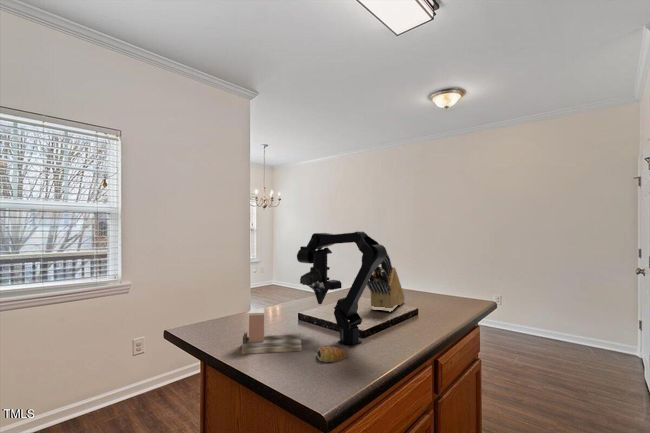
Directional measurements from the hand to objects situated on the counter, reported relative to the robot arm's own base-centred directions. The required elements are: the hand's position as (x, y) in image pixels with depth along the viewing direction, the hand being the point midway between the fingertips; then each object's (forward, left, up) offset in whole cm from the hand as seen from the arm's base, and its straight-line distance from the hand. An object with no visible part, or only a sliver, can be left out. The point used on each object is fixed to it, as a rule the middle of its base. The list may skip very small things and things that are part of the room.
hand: (319, 304), depth 127 cm
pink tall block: (+5, +25, -10) cm, 28 cm away
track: (+2, +21, -12) cm, 24 cm away
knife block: (+6, -53, -12) cm, 54 cm away
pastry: (-19, +13, -12) cm, 26 cm away
